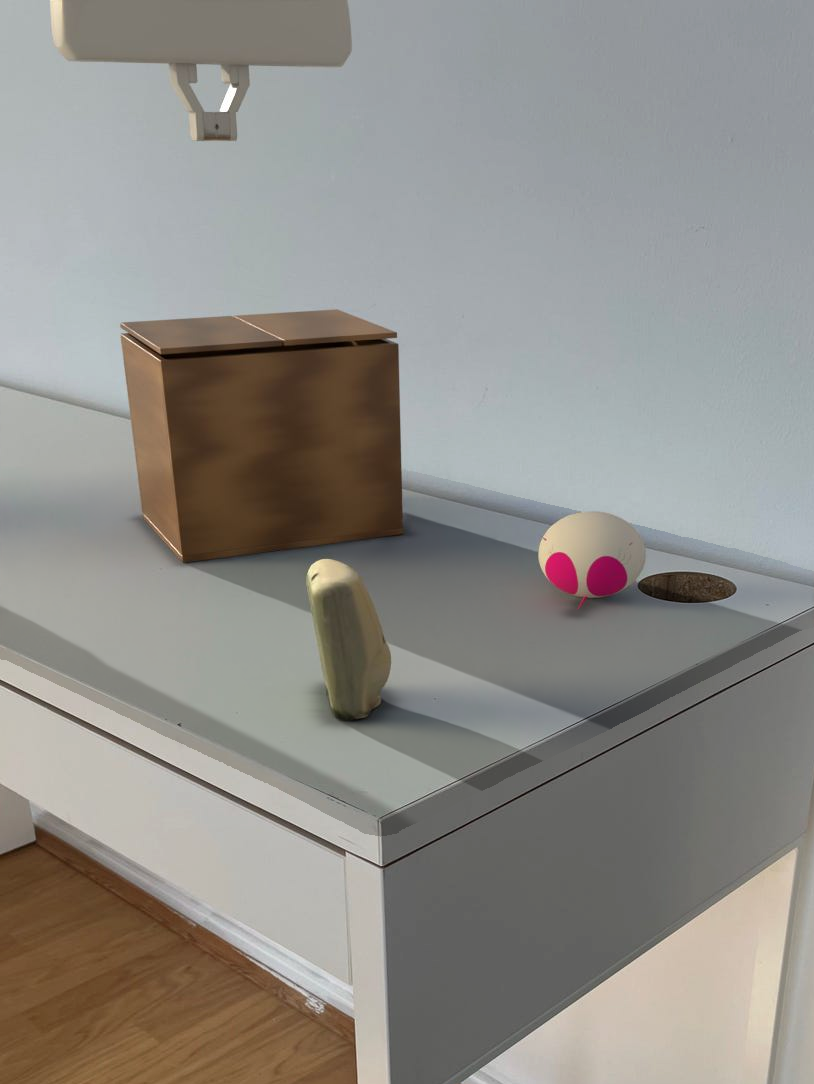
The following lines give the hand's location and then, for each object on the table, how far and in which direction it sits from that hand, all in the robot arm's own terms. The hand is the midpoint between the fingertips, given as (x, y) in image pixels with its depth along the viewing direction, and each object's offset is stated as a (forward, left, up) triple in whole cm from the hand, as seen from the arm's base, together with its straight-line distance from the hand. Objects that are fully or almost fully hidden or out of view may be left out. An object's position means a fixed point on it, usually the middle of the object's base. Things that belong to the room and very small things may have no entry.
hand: (214, 140), depth 93 cm
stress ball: (+17, -26, -28) cm, 42 cm away
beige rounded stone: (-5, -36, -28) cm, 46 cm away
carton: (+2, 0, -28) cm, 28 cm away
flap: (-2, 0, -13) cm, 13 cm away
